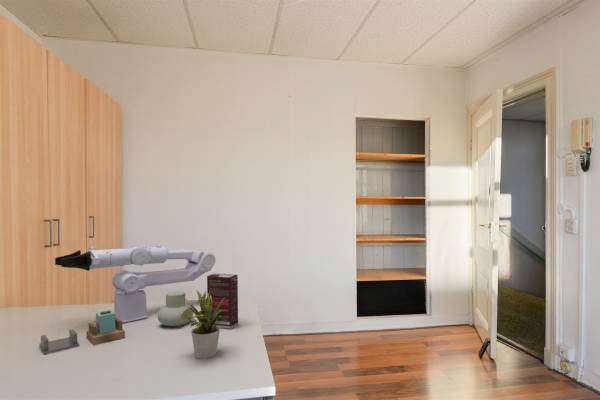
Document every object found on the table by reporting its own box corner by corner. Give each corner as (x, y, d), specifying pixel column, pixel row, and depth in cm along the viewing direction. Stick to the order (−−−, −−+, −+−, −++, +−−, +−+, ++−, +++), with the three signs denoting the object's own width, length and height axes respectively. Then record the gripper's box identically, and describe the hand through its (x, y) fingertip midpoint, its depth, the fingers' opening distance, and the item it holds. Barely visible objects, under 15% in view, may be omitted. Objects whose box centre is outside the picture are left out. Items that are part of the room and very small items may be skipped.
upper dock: (116, 330, 112) (116, 316, 112) (124, 338, 106) (124, 322, 106) (86, 337, 107) (86, 321, 107) (93, 345, 101) (93, 328, 101)
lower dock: (73, 338, 106) (72, 327, 106) (79, 346, 101) (79, 334, 101) (39, 345, 101) (39, 334, 101) (43, 354, 95) (43, 342, 95)
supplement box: (238, 324, 117) (238, 274, 117) (231, 329, 113) (230, 277, 113) (215, 321, 120) (214, 272, 120) (206, 326, 116) (206, 275, 116)
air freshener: (174, 317, 125) (174, 288, 125) (196, 319, 123) (196, 289, 123) (153, 328, 115) (153, 296, 115) (177, 330, 112) (176, 297, 112)
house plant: (165, 351, 97) (165, 288, 97) (215, 339, 105) (214, 281, 105) (185, 370, 85) (184, 299, 86) (239, 355, 94) (238, 290, 94)
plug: (111, 327, 110) (111, 308, 110) (115, 330, 107) (115, 311, 107) (96, 330, 107) (95, 311, 107) (99, 334, 104) (99, 314, 104)
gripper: (100, 244, 125) (53, 247, 116) (115, 246, 115) (64, 249, 105) (100, 266, 125) (52, 270, 115) (115, 269, 115) (64, 275, 105)
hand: (58, 262), depth 110 cm, fingers open, 7 cm apart
